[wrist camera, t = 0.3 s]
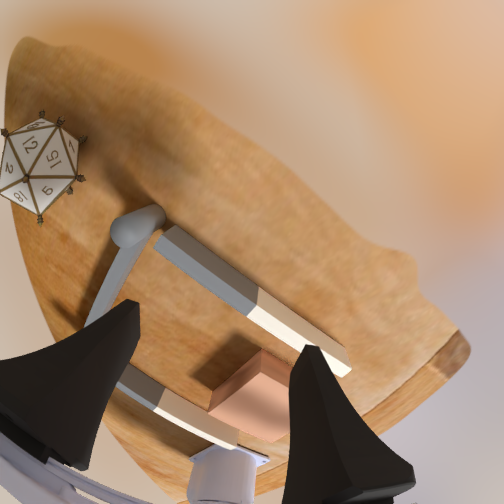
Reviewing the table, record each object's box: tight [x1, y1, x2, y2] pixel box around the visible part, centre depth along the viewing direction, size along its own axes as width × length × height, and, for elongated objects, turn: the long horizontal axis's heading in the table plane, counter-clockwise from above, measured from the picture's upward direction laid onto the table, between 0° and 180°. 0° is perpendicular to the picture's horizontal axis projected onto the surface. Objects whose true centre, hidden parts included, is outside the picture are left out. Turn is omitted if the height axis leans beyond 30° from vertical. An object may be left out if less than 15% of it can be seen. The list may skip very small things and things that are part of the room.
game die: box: [0, 109, 87, 227], centre depth 16 cm, size 9×8×10 cm
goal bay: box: [84, 204, 259, 411], centre depth 21 cm, size 18×11×5 cm, turn 142°
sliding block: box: [207, 349, 293, 443], centre depth 24 cm, size 8×8×4 cm
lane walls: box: [153, 287, 352, 450], centre depth 23 cm, size 17×10×3 cm, turn 142°
